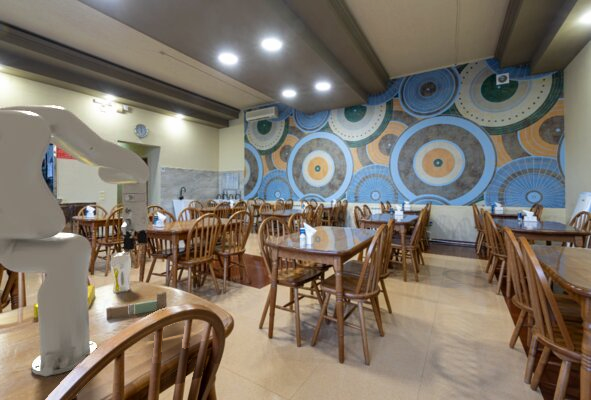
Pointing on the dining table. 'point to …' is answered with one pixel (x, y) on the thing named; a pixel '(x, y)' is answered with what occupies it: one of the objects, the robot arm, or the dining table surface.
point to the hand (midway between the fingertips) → (136, 246)
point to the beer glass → (121, 271)
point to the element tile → (90, 298)
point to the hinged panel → (152, 304)
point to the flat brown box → (119, 311)
